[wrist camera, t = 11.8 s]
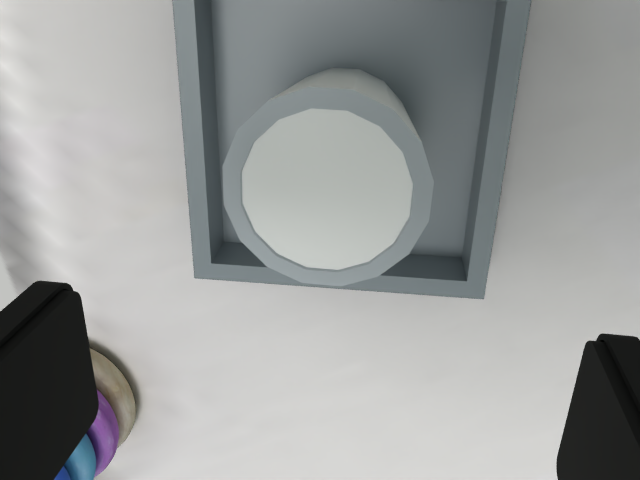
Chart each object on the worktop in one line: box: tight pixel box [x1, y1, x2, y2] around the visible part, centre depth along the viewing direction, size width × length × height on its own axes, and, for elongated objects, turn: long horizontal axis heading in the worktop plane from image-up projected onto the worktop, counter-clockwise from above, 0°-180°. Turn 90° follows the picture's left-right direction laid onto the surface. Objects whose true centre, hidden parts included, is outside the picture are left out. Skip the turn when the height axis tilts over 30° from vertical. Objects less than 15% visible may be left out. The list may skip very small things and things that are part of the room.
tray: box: [172, 0, 531, 299], centre depth 25 cm, size 13×13×3 cm
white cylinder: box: [222, 68, 434, 286], centre depth 23 cm, size 7×7×7 cm
